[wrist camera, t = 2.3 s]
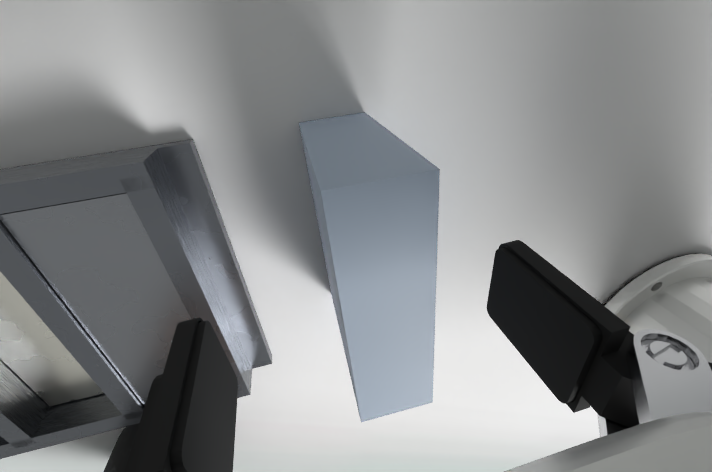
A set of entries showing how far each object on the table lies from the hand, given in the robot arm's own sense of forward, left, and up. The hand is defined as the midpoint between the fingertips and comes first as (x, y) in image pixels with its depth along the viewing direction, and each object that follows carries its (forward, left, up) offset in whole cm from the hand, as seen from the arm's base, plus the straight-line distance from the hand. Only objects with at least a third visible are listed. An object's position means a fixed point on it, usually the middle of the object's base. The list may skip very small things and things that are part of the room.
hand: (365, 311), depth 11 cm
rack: (+15, +2, -8) cm, 17 cm away
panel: (-1, 0, -8) cm, 8 cm away
